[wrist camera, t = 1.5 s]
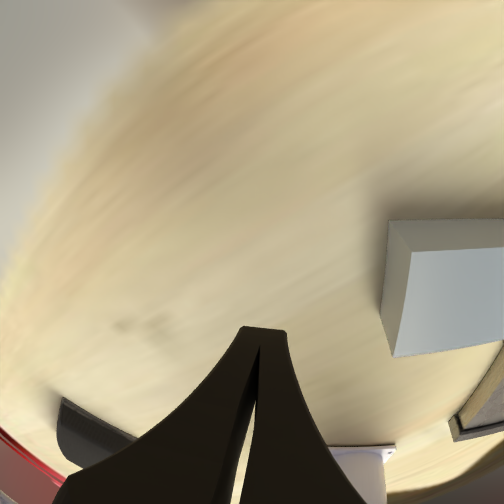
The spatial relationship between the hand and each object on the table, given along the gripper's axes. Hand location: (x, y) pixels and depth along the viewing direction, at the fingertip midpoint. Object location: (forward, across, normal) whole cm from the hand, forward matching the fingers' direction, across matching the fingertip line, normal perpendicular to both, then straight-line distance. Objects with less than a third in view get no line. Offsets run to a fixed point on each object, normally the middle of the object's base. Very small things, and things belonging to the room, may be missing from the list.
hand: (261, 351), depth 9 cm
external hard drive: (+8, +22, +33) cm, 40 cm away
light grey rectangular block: (+8, -11, 0) cm, 14 cm away
